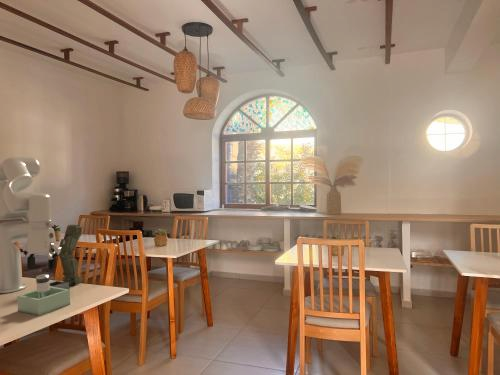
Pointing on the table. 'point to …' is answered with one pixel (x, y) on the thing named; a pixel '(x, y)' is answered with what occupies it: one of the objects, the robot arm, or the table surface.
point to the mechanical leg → (70, 254)
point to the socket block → (60, 284)
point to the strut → (43, 285)
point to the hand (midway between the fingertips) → (41, 268)
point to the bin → (43, 301)
